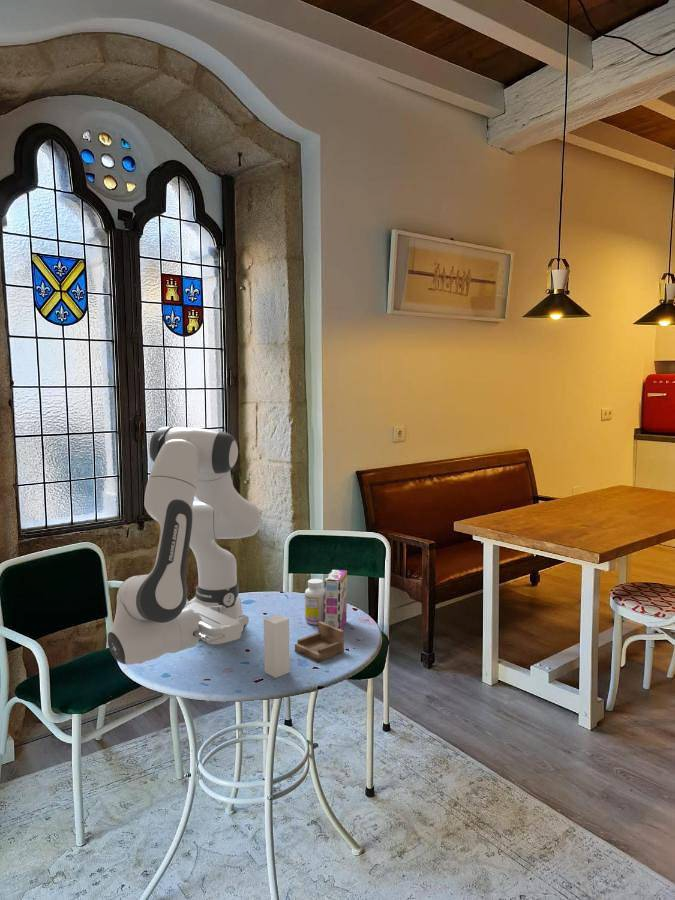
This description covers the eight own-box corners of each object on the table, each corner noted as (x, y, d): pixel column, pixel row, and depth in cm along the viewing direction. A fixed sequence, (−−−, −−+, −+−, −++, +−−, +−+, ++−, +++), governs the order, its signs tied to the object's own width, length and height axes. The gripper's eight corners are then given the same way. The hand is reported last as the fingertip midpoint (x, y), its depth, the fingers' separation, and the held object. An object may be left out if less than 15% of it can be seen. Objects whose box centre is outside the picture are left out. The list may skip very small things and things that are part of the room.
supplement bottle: (321, 616, 200) (321, 576, 199) (330, 623, 194) (330, 582, 193) (301, 619, 197) (301, 579, 196) (310, 626, 191) (310, 585, 190)
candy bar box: (340, 635, 184) (340, 580, 183) (323, 634, 185) (323, 579, 184) (347, 621, 195) (347, 569, 194) (331, 620, 196) (331, 568, 195)
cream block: (264, 672, 161) (263, 618, 160) (280, 666, 164) (279, 613, 163) (275, 678, 158) (274, 623, 156) (291, 671, 161) (290, 618, 160)
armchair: (294, 651, 173) (294, 630, 173) (320, 641, 180) (320, 621, 179) (317, 662, 167) (317, 640, 166) (343, 651, 173) (343, 630, 172)
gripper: (207, 627, 133) (261, 611, 143) (161, 604, 148) (212, 591, 158) (208, 656, 134) (261, 638, 143) (162, 630, 149) (213, 615, 158)
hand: (235, 613), depth 151 cm, fingers open, 8 cm apart
